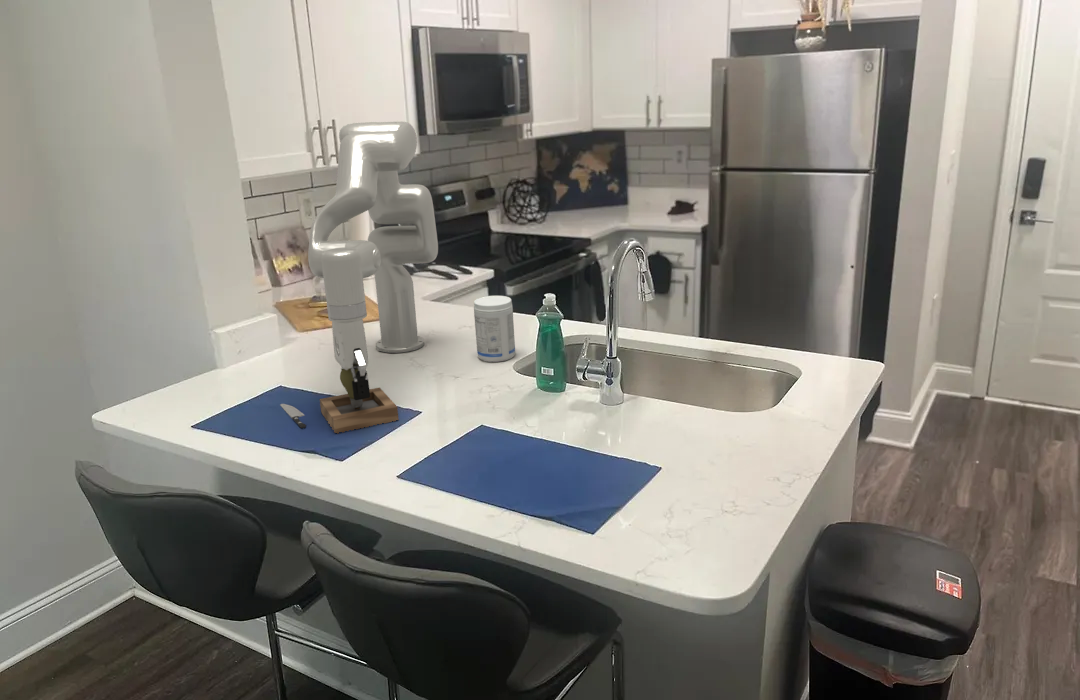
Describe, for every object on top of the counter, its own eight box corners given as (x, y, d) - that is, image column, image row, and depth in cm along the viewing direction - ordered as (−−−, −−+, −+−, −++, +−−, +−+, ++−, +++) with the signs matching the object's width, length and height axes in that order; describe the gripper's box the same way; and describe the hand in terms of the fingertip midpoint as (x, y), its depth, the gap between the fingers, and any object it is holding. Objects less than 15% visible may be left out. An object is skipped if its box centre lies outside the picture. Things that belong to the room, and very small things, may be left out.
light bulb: (376, 407, 169) (371, 362, 166) (354, 415, 165) (348, 369, 162) (360, 401, 173) (355, 357, 170) (338, 409, 169) (333, 364, 166)
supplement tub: (500, 348, 208) (497, 293, 204) (523, 356, 201) (520, 299, 197) (469, 357, 203) (465, 300, 198) (491, 365, 196) (488, 307, 191)
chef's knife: (290, 400, 180) (276, 403, 178) (290, 396, 180) (276, 398, 178) (316, 428, 164) (301, 430, 163) (315, 422, 164) (300, 425, 163)
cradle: (321, 412, 171) (319, 399, 170) (380, 400, 177) (379, 387, 176) (335, 433, 160) (333, 419, 159) (398, 420, 165) (397, 406, 164)
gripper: (318, 303, 167) (328, 382, 172) (338, 323, 152) (348, 409, 158) (354, 298, 170) (363, 376, 176) (377, 317, 155) (386, 401, 161)
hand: (356, 391), depth 167 cm, fingers open, 8 cm apart
